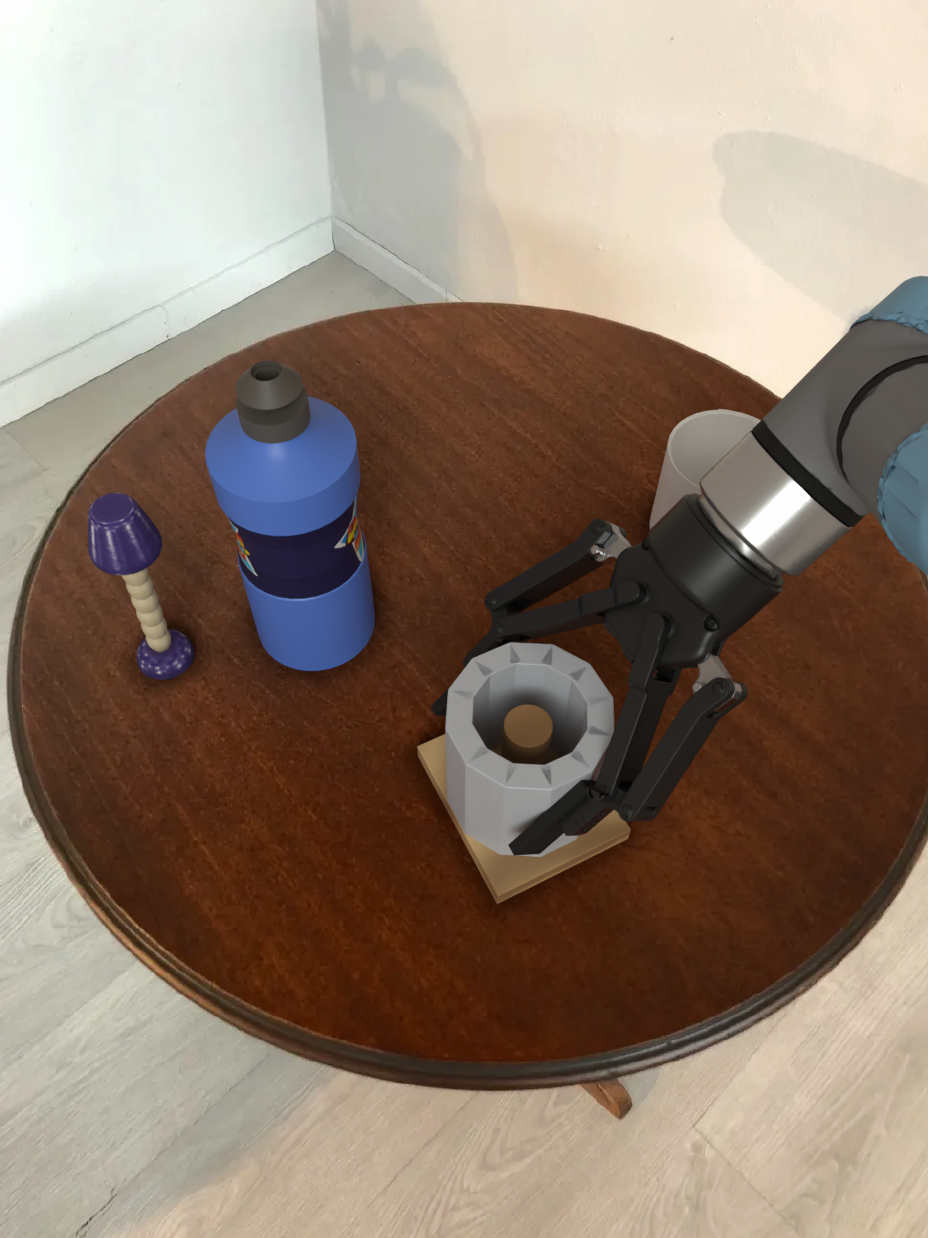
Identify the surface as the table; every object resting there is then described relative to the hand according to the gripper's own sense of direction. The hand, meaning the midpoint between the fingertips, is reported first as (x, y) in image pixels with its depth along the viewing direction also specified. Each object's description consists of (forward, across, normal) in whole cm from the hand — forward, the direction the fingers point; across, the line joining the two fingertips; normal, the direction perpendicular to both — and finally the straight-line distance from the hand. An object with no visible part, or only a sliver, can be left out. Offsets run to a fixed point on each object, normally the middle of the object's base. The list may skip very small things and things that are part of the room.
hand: (483, 778), depth 65 cm
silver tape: (+1, 0, -5) cm, 5 cm away
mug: (-16, +15, -24) cm, 33 cm away
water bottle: (+7, +20, -1) cm, 21 cm away
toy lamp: (+15, +22, +7) cm, 27 cm away
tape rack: (+2, 0, -6) cm, 6 cm away
